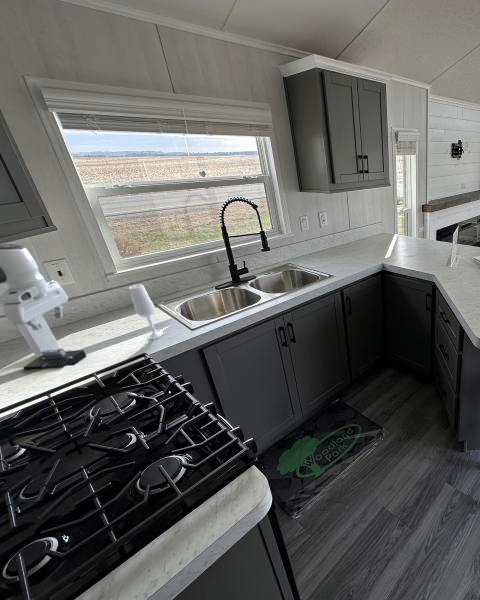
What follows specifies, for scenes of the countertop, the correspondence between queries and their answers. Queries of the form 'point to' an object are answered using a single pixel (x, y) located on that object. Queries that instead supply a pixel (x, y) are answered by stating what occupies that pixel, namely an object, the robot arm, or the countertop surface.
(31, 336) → the milk
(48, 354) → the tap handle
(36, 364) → the tap plate
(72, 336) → the countertop surface
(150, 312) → the champagne flute
